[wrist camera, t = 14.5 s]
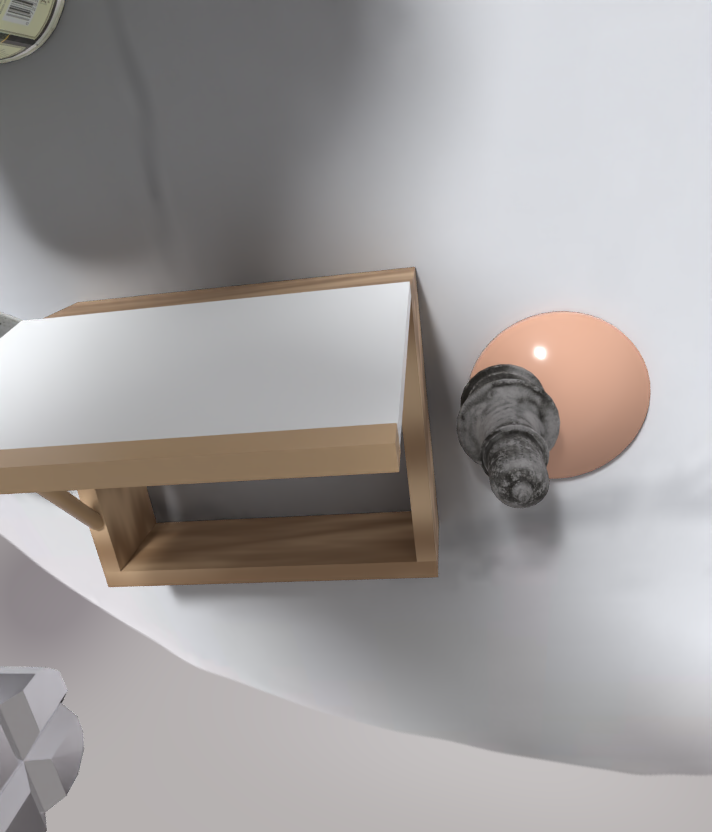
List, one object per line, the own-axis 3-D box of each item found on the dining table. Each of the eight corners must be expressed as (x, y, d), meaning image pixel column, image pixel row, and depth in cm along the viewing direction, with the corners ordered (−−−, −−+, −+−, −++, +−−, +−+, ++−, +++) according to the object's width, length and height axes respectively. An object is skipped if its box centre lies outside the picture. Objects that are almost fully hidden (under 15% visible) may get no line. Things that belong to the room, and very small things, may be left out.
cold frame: (77, 302, 43) (24, 327, 38) (415, 266, 40) (410, 288, 34) (145, 537, 50) (108, 587, 45) (438, 524, 46) (437, 577, 41)
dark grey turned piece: (498, 340, 40) (518, 418, 29) (571, 397, 41) (617, 493, 30) (436, 410, 42) (433, 506, 32) (507, 462, 43) (528, 574, 32)
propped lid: (27, 318, 38) (-207, 423, 24) (410, 278, 35) (387, 376, 21) (93, 524, 43) (-69, 707, 30) (432, 509, 40) (425, 708, 26)
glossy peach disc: (461, 319, 41) (461, 322, 40) (651, 302, 39) (654, 305, 38) (472, 478, 45) (472, 483, 44) (644, 469, 43) (646, 474, 42)
